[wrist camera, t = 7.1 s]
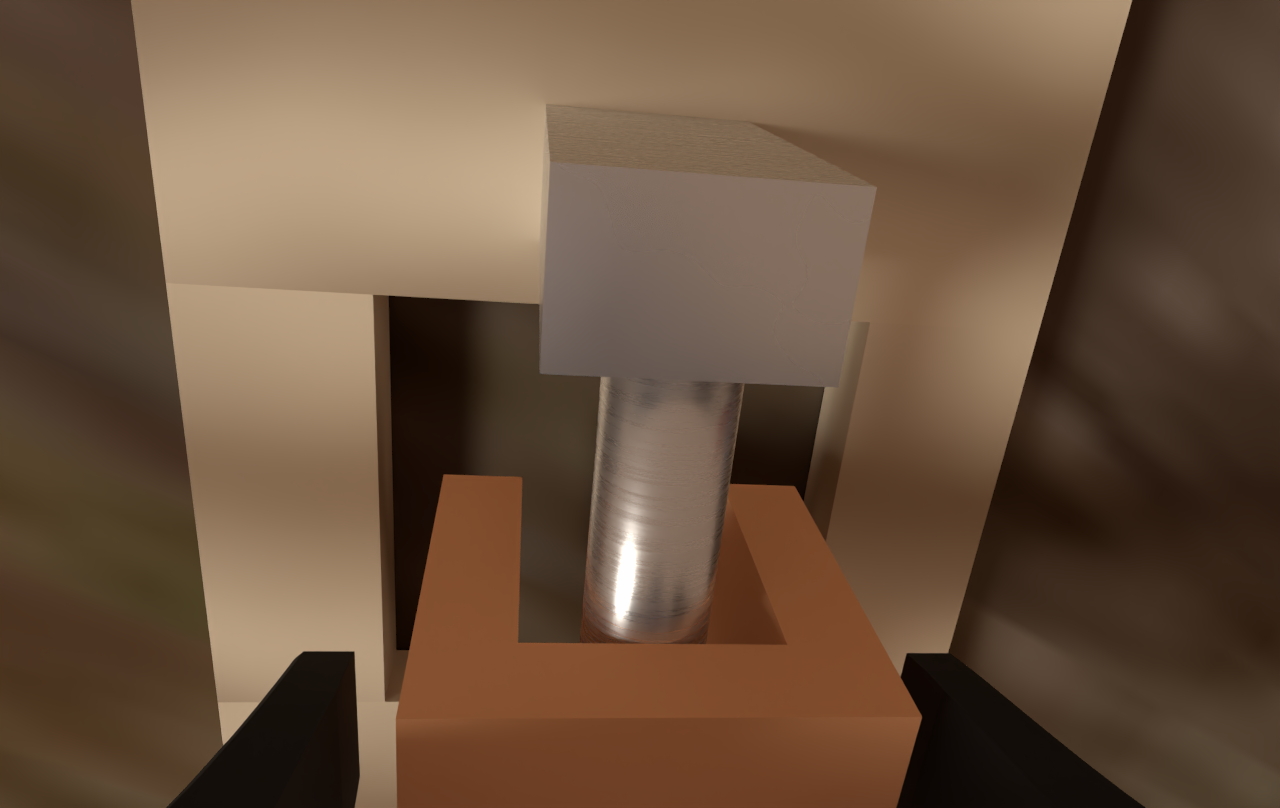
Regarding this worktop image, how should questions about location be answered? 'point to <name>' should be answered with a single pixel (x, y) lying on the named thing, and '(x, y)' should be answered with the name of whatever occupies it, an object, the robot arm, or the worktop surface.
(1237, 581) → the worktop surface
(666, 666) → the notched orange block
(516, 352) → the worktop surface
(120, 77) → the worktop surface
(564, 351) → the grey rod with blocks
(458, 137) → the shelf board
